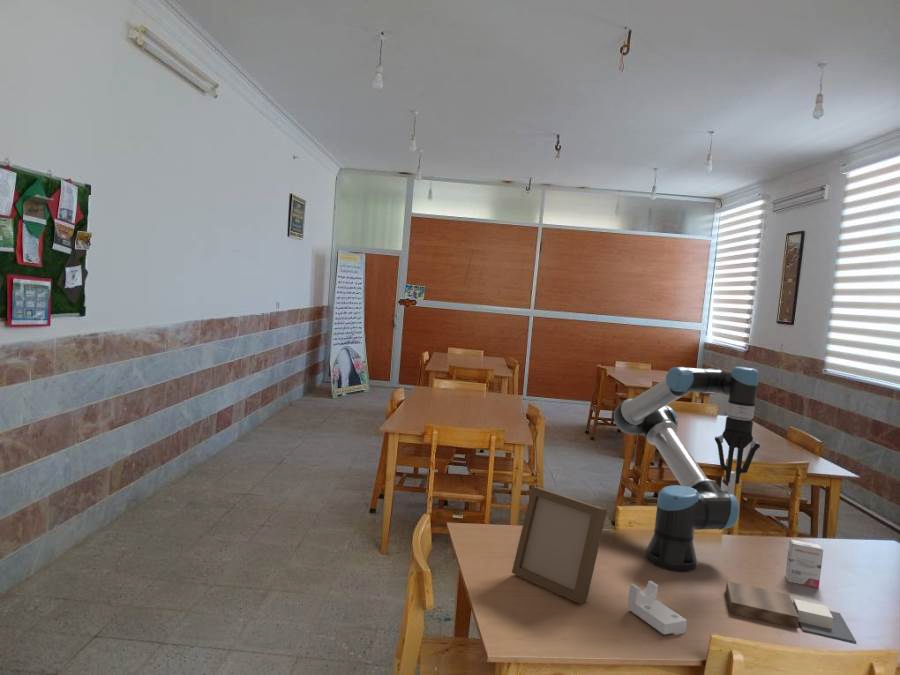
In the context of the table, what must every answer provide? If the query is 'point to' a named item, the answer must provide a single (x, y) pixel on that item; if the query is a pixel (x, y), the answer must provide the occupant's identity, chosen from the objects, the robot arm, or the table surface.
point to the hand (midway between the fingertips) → (730, 493)
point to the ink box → (804, 563)
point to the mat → (837, 631)
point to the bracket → (654, 610)
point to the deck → (761, 604)
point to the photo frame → (559, 543)
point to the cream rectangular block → (813, 613)
